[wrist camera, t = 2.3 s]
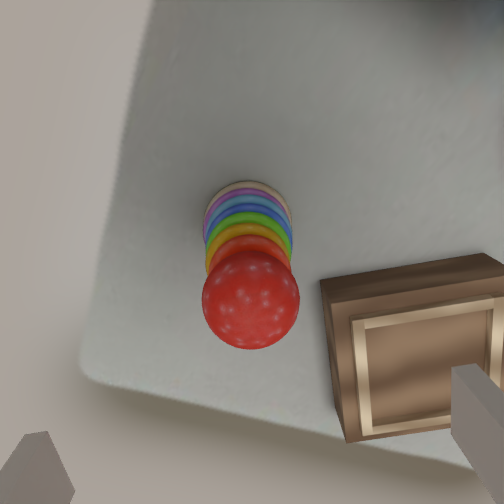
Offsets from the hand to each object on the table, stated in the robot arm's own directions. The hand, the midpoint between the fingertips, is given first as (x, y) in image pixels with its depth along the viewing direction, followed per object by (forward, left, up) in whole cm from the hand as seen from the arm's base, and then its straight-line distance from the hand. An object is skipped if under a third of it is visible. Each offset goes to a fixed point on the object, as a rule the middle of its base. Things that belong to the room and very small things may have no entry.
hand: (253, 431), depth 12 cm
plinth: (+15, +14, -24) cm, 32 cm away
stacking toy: (0, 0, -25) cm, 25 cm away
